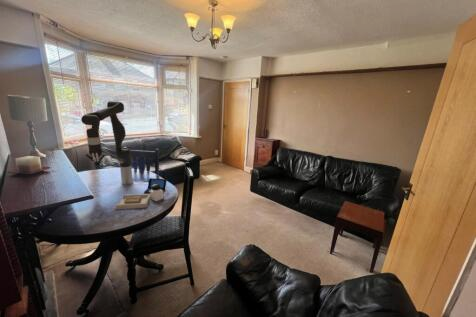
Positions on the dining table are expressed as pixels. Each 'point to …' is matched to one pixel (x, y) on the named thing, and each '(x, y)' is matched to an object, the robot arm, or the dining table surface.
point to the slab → (133, 200)
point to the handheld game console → (156, 181)
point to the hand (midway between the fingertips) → (97, 165)
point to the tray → (142, 204)
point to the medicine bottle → (156, 193)
